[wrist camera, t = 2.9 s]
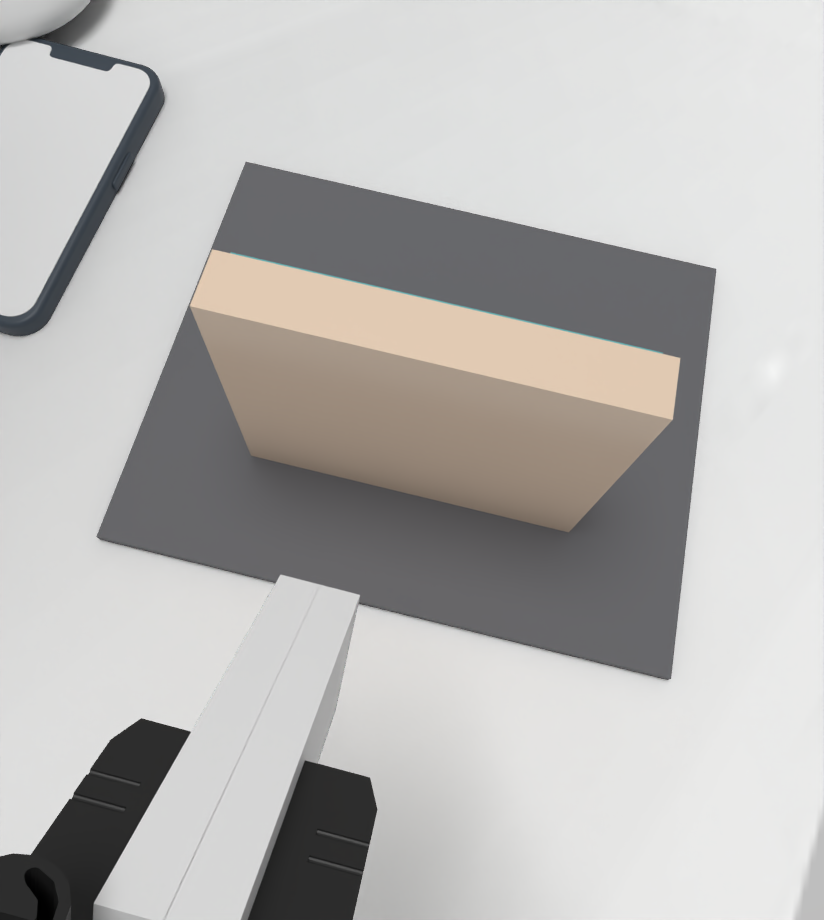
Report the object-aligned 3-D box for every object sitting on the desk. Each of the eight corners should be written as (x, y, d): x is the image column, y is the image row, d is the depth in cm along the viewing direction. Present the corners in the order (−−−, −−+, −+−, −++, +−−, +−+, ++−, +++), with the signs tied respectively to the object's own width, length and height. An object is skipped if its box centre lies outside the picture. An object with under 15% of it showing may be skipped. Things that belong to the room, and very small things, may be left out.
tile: (250, 455, 33) (189, 306, 22) (266, 408, 34) (215, 241, 23) (568, 532, 33) (672, 419, 21) (576, 482, 33) (681, 349, 22)
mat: (99, 539, 32) (96, 536, 32) (246, 167, 39) (245, 161, 39) (667, 679, 31) (670, 678, 31) (712, 273, 38) (716, 269, 38)
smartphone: (45, 350, 36) (176, 93, 41) (30, 333, 34) (168, 69, 39) (-130, 299, 36) (21, 53, 41) (-153, 281, 35) (7, 27, 40)
